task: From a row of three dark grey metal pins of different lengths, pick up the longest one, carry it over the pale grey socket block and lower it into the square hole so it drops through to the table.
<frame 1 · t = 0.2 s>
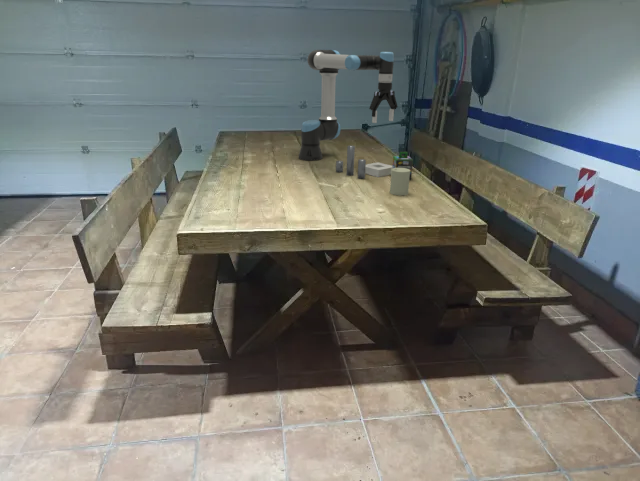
hand: (382, 121, 272), 28 cm above the table, fingers open, 13 cm apart
can: (398, 193, 239), on the table
short pin: (339, 171, 278), on the table
socket block: (377, 172, 276), on the table
long pin: (350, 174, 271), on the table
medium pin: (361, 178, 265), on the table
chalk box: (401, 178, 266), on the table
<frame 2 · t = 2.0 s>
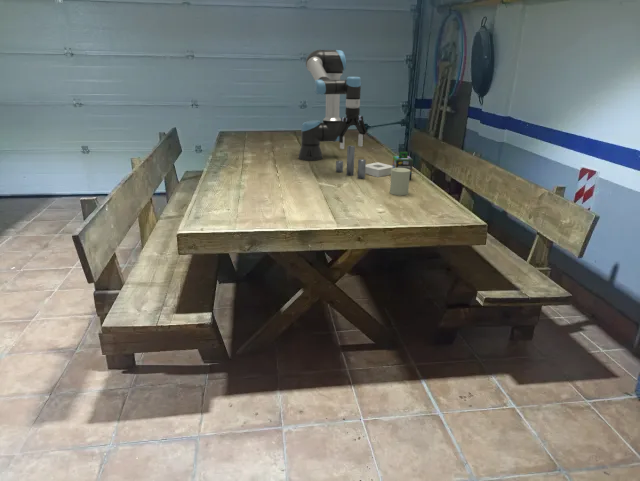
hand: (351, 147, 265), 15 cm above the table, fingers open, 13 cm apart
nothing on the table moved.
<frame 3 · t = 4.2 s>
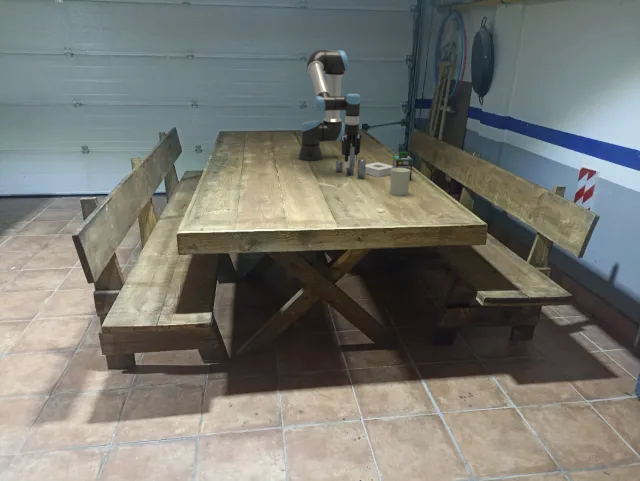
hand: (350, 166, 269), 5 cm above the table, fingers closed on long pin, 4 cm apart
long pin: (350, 174, 271), on the table, touching gripper
everything else where it was.
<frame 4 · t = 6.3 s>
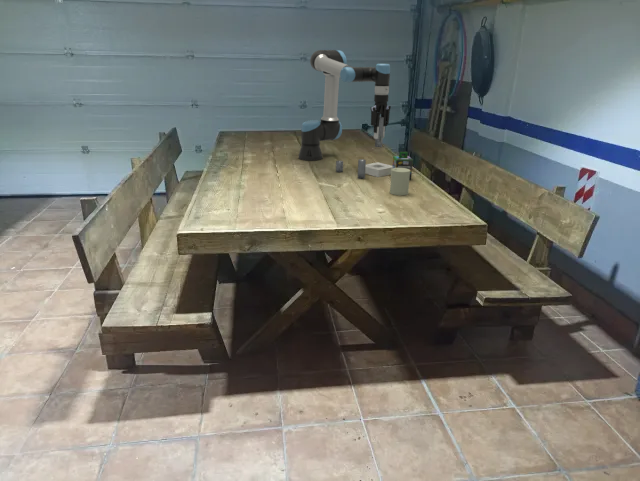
hand: (378, 138, 269), 20 cm above the table, fingers closed on long pin, 4 cm apart
long pin: (378, 146, 270), point 15 cm above the table, touching gripper
everything else where it was.
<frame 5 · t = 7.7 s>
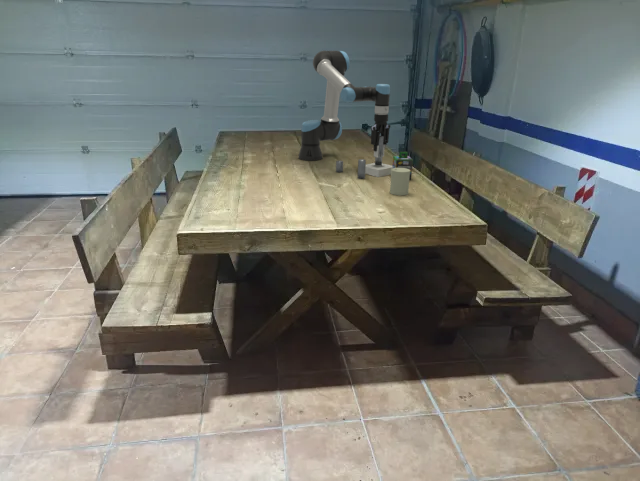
hand: (378, 156, 273), 10 cm above the table, fingers closed on long pin, 4 cm apart
long pin: (378, 164, 275), point 5 cm above the table, touching gripper
everything else where it was.
when the fingers open (6 cm above the table, at t = 8.7 s): long pin stays where it is, resting in socket block.
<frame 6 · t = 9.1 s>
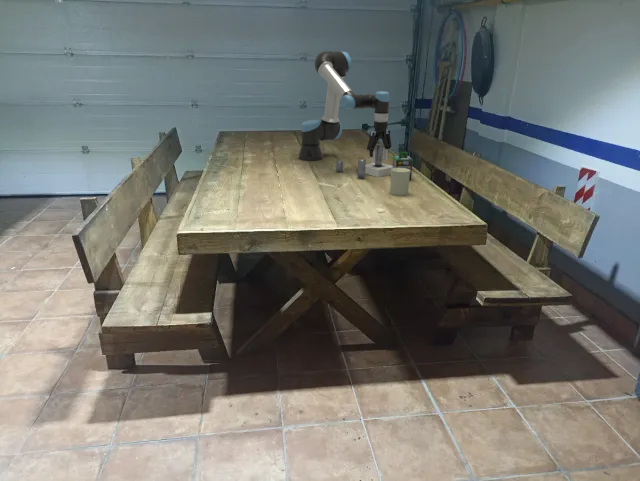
hand: (378, 161, 274), 7 cm above the table, fingers open, 10 cm apart
long pin: (377, 172, 276), resting in socket block
everything else where it was.
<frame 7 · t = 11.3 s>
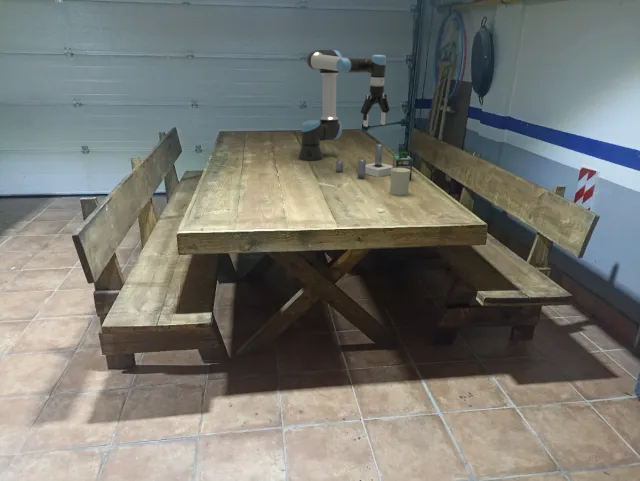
hand: (374, 125, 270), 26 cm above the table, fingers open, 13 cm apart
nothing on the table moved.
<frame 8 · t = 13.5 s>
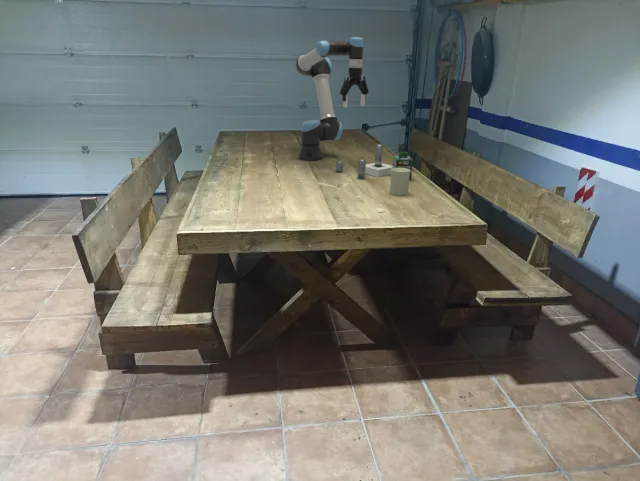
hand: (353, 106, 278), 35 cm above the table, fingers open, 13 cm apart
nothing on the table moved.
at the end: long pin 0.0 cm off-centre on the socket block, point 0.0 cm above the socket block's base; long pin tilted 0°; the gripper is holding nothing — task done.
